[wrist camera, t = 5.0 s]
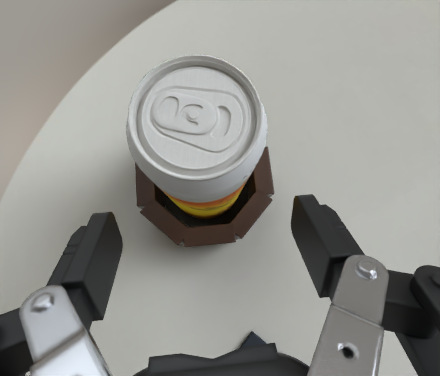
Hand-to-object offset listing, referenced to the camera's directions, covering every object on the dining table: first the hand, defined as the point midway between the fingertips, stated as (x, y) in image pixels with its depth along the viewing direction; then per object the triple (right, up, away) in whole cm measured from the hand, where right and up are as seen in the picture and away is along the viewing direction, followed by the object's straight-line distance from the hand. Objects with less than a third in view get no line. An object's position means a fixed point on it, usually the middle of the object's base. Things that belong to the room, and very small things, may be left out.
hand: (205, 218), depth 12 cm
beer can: (-1, +1, +13) cm, 13 cm away
